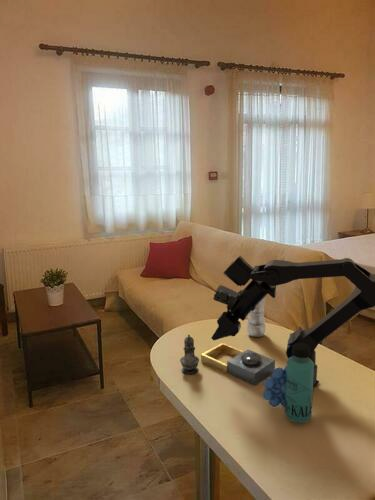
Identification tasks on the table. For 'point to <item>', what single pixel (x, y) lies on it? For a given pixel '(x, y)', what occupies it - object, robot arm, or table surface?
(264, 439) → the table surface
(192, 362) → the dark grey tall piece
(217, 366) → the two-tone flat frame block
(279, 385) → the grapes
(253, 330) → the plastic bottle
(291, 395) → the beverage bottle
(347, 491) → the table surface
